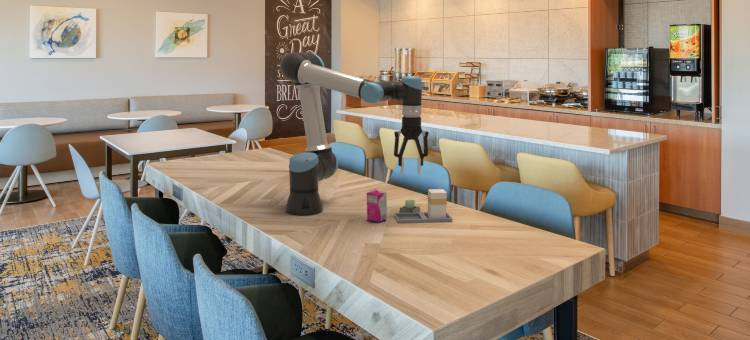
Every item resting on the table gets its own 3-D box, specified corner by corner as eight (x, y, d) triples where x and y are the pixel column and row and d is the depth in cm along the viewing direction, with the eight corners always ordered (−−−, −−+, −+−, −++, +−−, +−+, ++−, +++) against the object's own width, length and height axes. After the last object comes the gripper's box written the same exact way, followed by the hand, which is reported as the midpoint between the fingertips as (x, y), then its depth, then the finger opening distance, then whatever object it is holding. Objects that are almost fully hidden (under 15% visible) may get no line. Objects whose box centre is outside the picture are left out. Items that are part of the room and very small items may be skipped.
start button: (403, 211, 233) (403, 201, 233) (408, 209, 237) (408, 199, 236) (411, 213, 231) (411, 202, 231) (416, 211, 235) (416, 200, 234)
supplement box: (375, 217, 230) (375, 189, 228) (387, 220, 226) (387, 191, 224) (366, 220, 225) (366, 192, 223) (378, 223, 222) (378, 194, 220)
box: (430, 220, 222) (431, 193, 220) (427, 216, 228) (428, 189, 226) (446, 220, 223) (447, 192, 221) (442, 216, 229) (443, 189, 226)
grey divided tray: (398, 225, 219) (398, 220, 218) (394, 218, 229) (394, 213, 228) (452, 224, 221) (452, 218, 221) (446, 217, 231) (446, 211, 231)
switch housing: (399, 215, 233) (399, 207, 233) (407, 211, 238) (407, 204, 238) (412, 217, 230) (412, 210, 230) (419, 214, 235) (419, 206, 235)
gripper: (388, 117, 222) (388, 176, 226) (437, 117, 224) (435, 175, 228) (386, 115, 229) (385, 172, 234) (433, 115, 231) (431, 171, 236)
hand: (410, 173), depth 231 cm, fingers open, 6 cm apart
